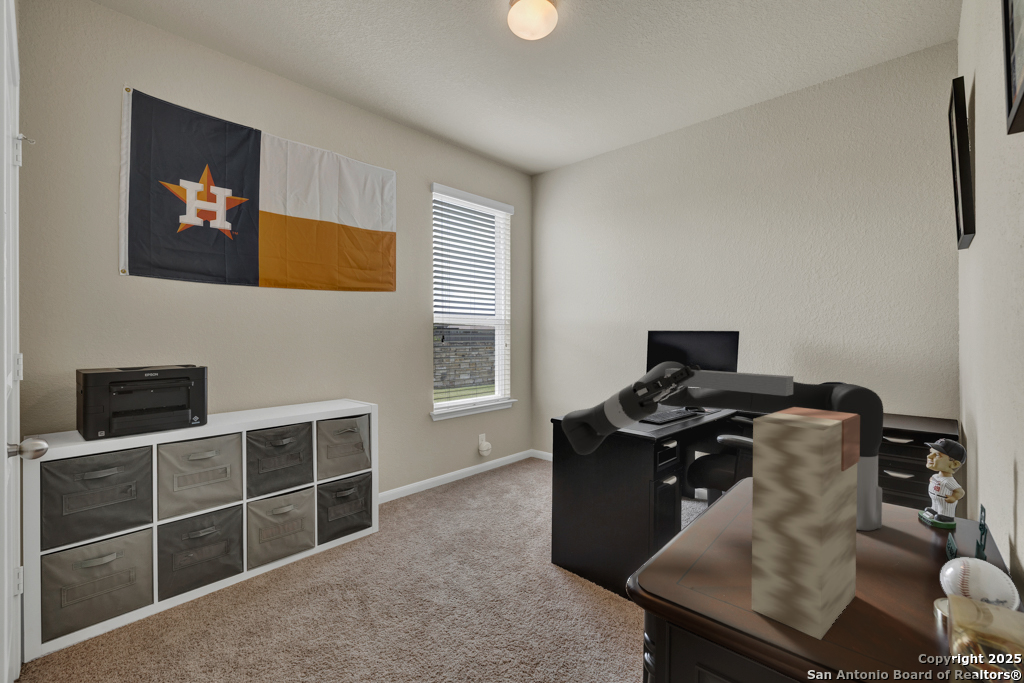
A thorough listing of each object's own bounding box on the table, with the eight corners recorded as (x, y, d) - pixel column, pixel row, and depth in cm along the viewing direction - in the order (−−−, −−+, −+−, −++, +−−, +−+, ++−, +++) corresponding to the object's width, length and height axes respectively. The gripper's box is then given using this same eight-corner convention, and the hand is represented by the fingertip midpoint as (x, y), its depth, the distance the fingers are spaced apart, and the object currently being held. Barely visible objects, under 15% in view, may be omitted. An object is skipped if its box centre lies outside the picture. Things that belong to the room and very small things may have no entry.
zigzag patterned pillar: (751, 609, 77) (753, 418, 76) (792, 572, 89) (794, 406, 88) (822, 641, 69) (825, 428, 68) (857, 596, 81) (860, 414, 80)
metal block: (665, 384, 92) (665, 369, 92) (673, 382, 94) (673, 368, 94) (786, 396, 75) (786, 377, 75) (793, 394, 77) (793, 376, 77)
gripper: (656, 417, 103) (722, 384, 92) (617, 425, 94) (685, 391, 83) (641, 386, 106) (704, 351, 94) (602, 392, 97) (666, 354, 85)
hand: (695, 370), depth 89 cm, fingers closed on metal block, 3 cm apart
